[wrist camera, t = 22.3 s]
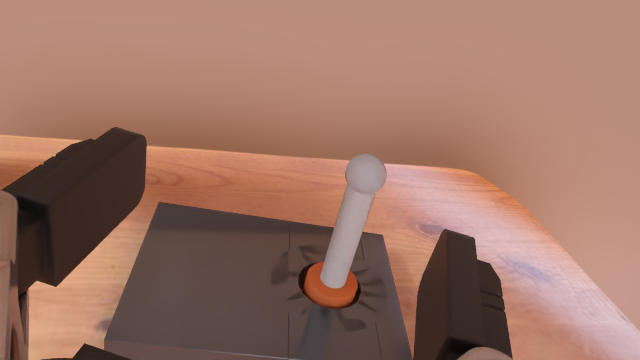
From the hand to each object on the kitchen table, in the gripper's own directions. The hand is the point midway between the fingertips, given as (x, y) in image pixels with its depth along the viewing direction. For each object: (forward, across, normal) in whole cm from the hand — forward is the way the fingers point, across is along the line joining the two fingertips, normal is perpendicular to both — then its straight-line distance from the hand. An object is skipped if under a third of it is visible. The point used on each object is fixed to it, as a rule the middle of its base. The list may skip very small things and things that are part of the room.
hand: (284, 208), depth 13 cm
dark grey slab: (+20, +3, +24) cm, 31 cm away
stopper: (+21, -2, +24) cm, 32 cm away
